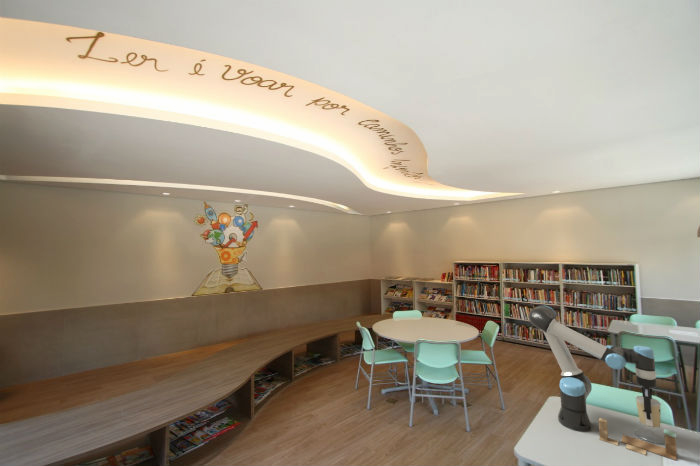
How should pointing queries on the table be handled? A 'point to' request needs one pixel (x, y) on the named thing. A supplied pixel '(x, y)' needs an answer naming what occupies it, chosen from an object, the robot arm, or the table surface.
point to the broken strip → (604, 437)
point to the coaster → (650, 436)
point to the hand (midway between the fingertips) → (649, 421)
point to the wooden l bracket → (666, 452)
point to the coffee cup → (654, 409)
